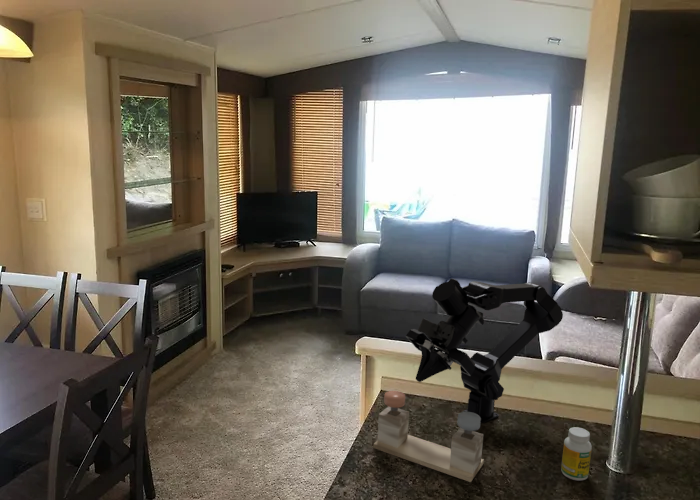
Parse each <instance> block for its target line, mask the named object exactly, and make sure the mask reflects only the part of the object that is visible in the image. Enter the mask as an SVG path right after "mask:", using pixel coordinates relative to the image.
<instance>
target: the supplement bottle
mask: <svg viewBox="0 0 700 500" xmlns="http://www.w3.org/2000/svg"><path fill="white" fill-rule="evenodd" d="M590 437H591V434H590V432H589V431H588V430H586V429H585V428H582V427H578V426H576V427H574V426H573V427H570V428H569V430H568V436H567V437H565V439H564V440H563V441H564V442H563V449H562V450H563V451H562V458H561V465H560V467H561V473H562V474H563V475H564V476H565V477H566V478H568V479H570V480H573V481H578V482H579V481H580V482H581V481H585V480H587V479H588V478H589V474H590V473H589V471H590V467H591V465H590V464H591V458H592V449H593V446H592V443H591V442H590Z"/></svg>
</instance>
